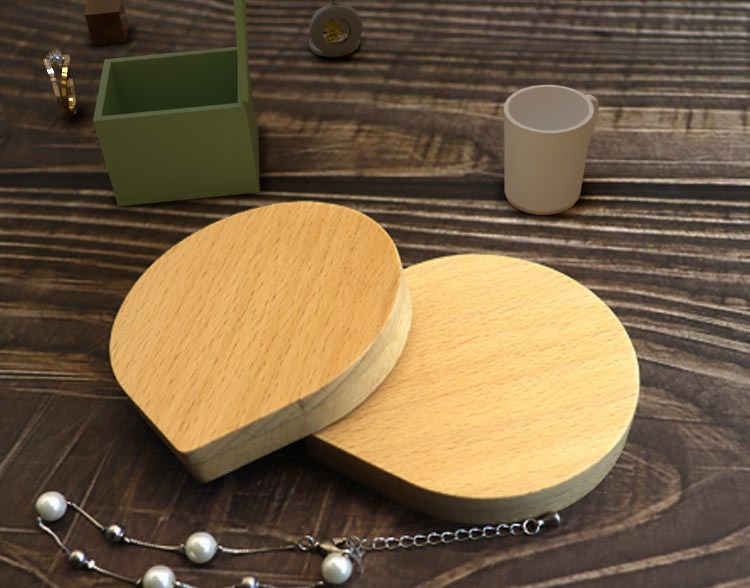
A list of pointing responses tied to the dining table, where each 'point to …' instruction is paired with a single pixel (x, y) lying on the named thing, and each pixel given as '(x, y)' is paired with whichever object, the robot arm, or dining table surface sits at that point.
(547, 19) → the dining table surface
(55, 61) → the ring
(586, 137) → the mug
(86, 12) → the block
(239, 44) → the lid
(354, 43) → the pocket watch
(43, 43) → the dining table surface
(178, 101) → the chest
